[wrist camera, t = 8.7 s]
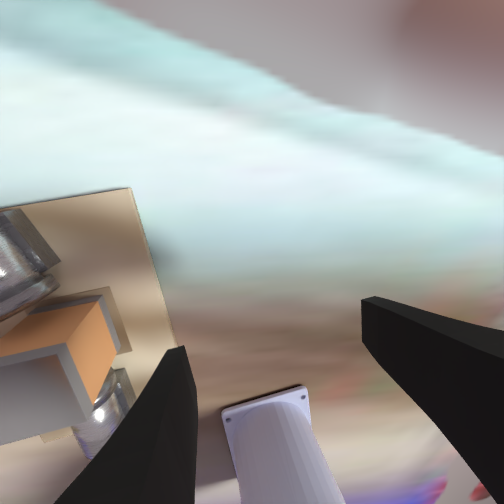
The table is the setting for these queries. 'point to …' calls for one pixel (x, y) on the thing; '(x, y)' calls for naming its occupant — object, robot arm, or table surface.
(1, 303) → the shaft
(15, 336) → the orange rectangular block
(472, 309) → the table surface
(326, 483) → the robot arm
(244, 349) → the table surface
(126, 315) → the plate
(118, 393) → the shaft
